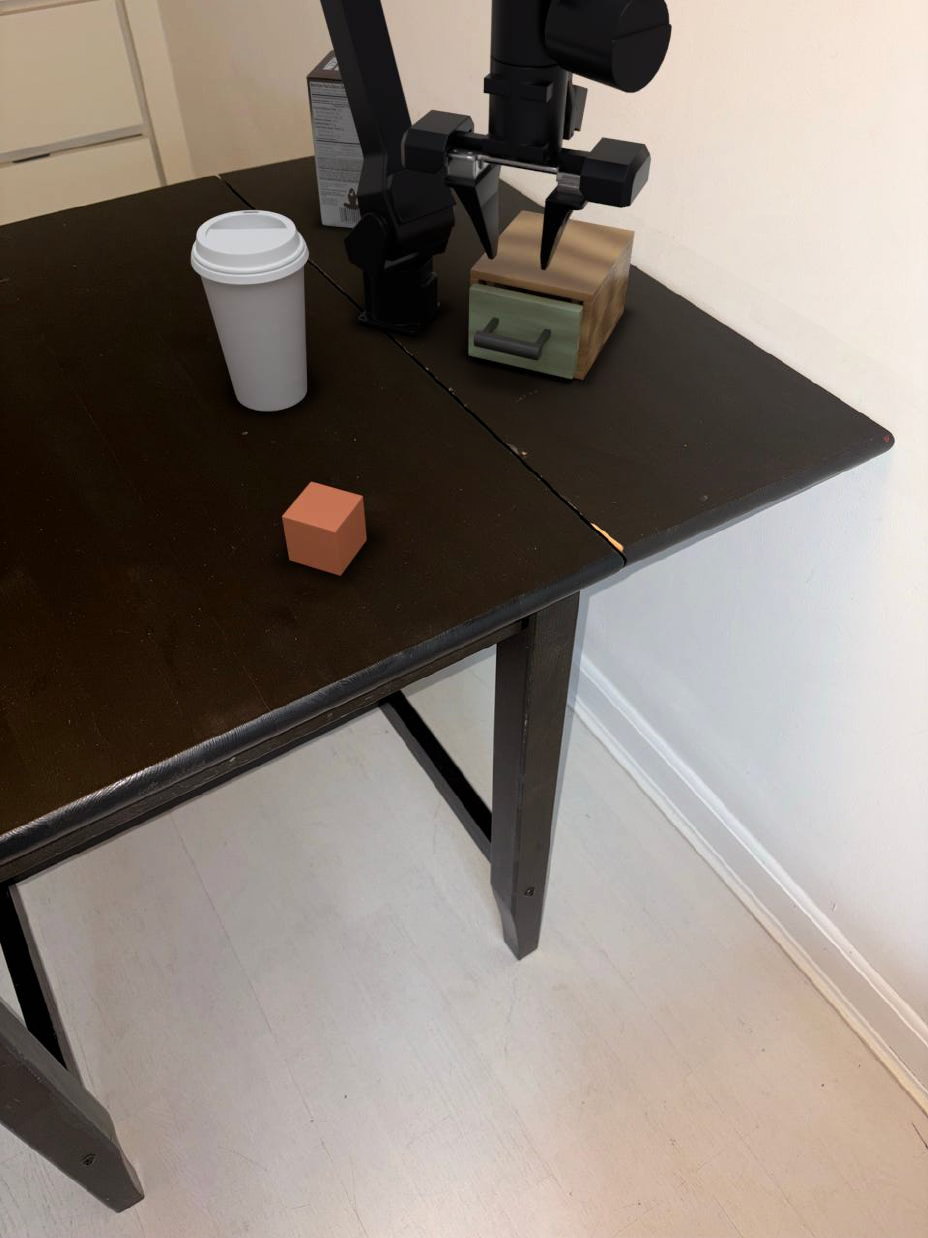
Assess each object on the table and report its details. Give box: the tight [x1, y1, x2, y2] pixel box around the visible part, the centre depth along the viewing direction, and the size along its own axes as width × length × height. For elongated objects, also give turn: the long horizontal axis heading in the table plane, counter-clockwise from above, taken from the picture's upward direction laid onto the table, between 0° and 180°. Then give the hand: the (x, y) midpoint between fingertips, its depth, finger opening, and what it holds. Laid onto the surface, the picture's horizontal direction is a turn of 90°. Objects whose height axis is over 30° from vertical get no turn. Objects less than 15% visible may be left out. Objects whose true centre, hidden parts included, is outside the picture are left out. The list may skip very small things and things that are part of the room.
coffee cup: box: [190, 209, 310, 412], centre depth 82 cm, size 10×10×15 cm
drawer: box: [467, 281, 584, 380], centre depth 89 cm, size 17×10×7 cm, turn 157°
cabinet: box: [469, 209, 635, 381], centre depth 92 cm, size 14×12×9 cm
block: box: [281, 481, 368, 577], centre depth 71 cm, size 4×4×4 cm
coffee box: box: [305, 49, 363, 229], centre depth 108 cm, size 9×6×16 cm
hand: (518, 262), depth 80 cm, fingers open, 4 cm apart
